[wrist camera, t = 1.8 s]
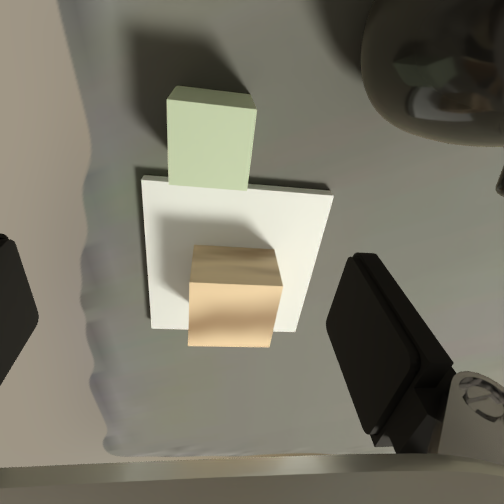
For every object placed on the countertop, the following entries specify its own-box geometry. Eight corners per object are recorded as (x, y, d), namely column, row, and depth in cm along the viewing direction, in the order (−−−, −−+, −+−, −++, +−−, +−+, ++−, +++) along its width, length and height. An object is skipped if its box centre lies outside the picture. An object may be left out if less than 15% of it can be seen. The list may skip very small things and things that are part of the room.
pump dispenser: (310, 83, 23) (422, 156, 10) (410, -116, 17) (885, -463, 5) (421, 143, 26) (612, 256, 13) (533, -10, 20) (1019, -64, 8)
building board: (143, 174, 25) (141, 179, 24) (330, 190, 27) (333, 195, 26) (153, 321, 34) (151, 328, 33) (293, 324, 36) (295, 331, 35)
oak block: (193, 244, 28) (189, 282, 24) (274, 249, 29) (283, 286, 25) (192, 304, 32) (188, 345, 28) (263, 306, 33) (269, 347, 29)
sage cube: (176, 85, 22) (166, 99, 18) (250, 94, 23) (256, 109, 19) (177, 158, 25) (168, 184, 21) (242, 164, 25) (247, 190, 21)
